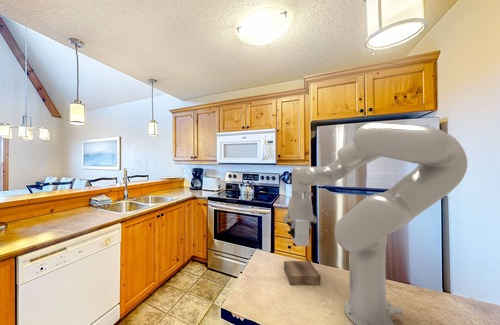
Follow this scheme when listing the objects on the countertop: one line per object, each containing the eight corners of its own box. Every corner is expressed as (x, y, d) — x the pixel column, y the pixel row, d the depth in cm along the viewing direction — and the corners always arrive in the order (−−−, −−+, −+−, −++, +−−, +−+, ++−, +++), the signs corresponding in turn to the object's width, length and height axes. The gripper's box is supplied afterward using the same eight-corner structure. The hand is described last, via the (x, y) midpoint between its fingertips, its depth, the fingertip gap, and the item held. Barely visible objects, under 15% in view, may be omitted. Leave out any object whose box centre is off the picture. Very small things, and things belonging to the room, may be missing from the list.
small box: (309, 246, 75) (309, 220, 75) (295, 246, 75) (295, 220, 75) (303, 239, 83) (304, 215, 83) (291, 238, 83) (291, 215, 83)
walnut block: (309, 269, 84) (309, 260, 84) (320, 286, 72) (320, 275, 72) (283, 269, 83) (284, 261, 84) (290, 286, 71) (290, 276, 72)
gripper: (316, 194, 83) (316, 234, 83) (279, 193, 83) (278, 233, 82) (323, 196, 76) (323, 240, 75) (282, 196, 75) (282, 240, 75)
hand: (300, 236), depth 79 cm, fingers closed on small box, 5 cm apart
